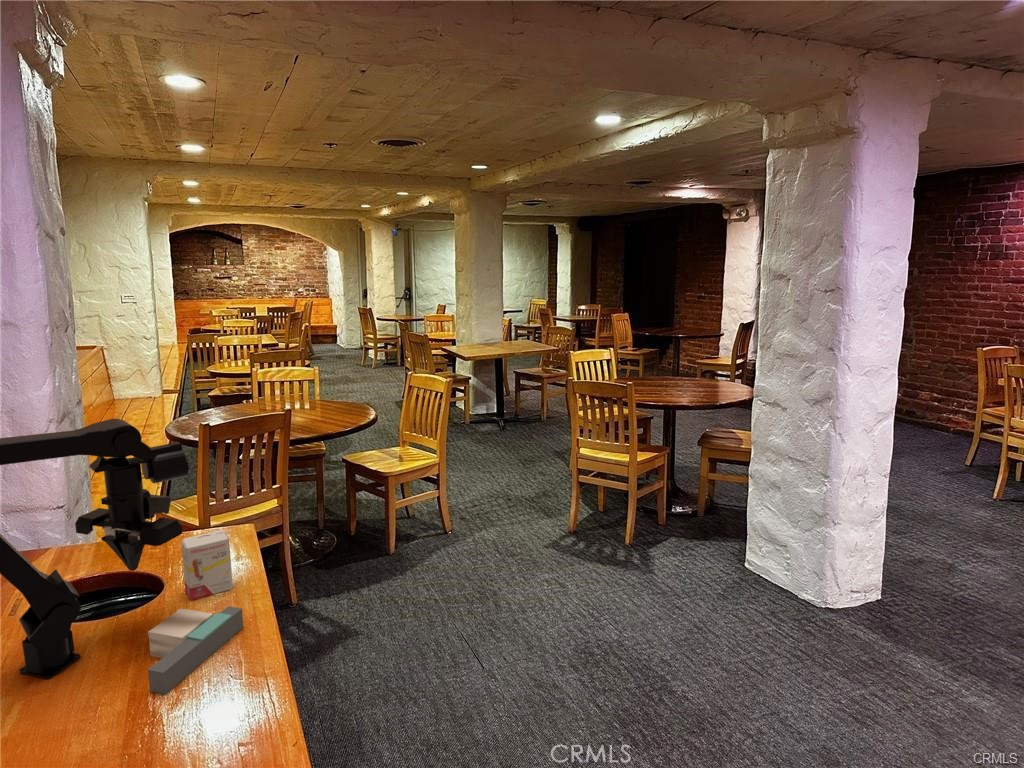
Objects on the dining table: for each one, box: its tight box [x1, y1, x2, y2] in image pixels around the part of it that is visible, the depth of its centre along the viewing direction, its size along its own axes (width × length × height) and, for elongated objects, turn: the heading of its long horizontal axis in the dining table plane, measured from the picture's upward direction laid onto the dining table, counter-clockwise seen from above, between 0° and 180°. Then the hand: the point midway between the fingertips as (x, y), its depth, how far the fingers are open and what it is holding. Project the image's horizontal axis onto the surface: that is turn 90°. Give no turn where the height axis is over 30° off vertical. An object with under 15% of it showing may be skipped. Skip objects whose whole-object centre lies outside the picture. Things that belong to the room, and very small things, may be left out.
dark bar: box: [147, 606, 244, 695], centre depth 118 cm, size 20×3×4 cm, turn 165°
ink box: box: [181, 530, 234, 601], centre depth 139 cm, size 9×5×12 cm, turn 127°
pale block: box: [147, 608, 214, 659], centre depth 121 cm, size 8×7×5 cm
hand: (133, 569), depth 122 cm, fingers closed
